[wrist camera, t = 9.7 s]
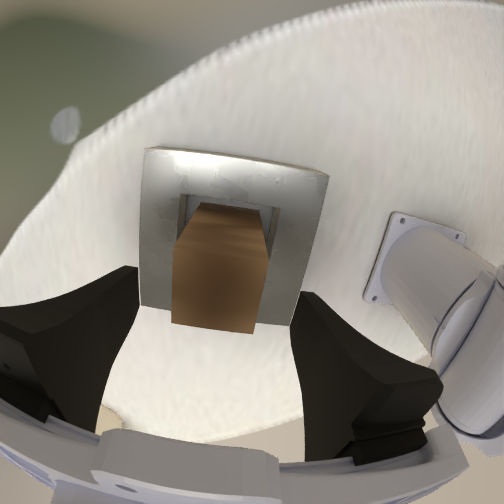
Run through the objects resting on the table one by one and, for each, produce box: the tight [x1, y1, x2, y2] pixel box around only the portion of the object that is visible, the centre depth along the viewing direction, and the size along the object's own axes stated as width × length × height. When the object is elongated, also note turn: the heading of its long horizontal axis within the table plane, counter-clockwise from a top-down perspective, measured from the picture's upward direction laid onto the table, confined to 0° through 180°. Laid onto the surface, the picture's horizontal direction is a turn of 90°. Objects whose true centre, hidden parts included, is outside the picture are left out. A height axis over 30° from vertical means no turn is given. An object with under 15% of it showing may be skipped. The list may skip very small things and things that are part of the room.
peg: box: [171, 202, 269, 334], centre depth 16 cm, size 4×4×8 cm
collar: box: [139, 147, 329, 326], centre depth 18 cm, size 11×11×2 cm
